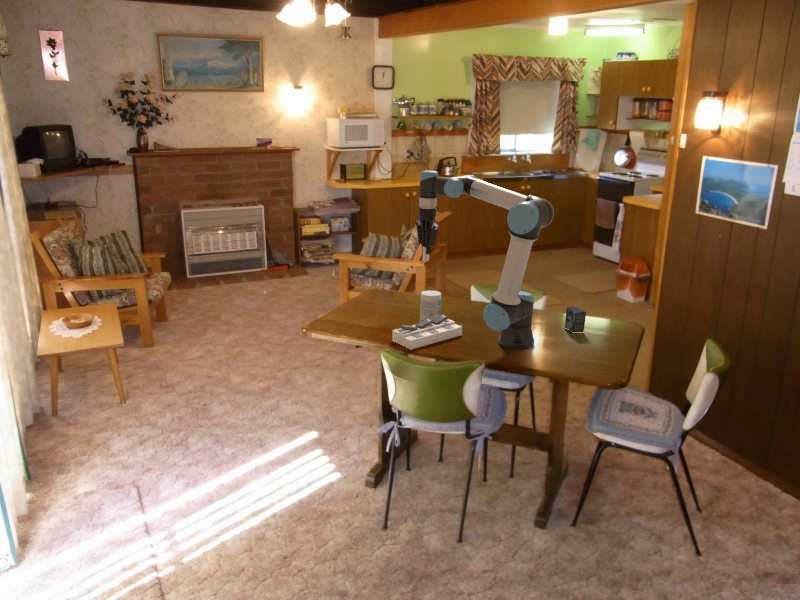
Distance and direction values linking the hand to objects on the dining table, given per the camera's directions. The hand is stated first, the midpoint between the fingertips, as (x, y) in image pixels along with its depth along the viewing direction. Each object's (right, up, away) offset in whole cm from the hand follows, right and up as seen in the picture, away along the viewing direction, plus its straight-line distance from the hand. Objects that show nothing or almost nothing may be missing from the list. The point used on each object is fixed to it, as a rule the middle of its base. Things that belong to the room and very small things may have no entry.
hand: (425, 260), depth 303 cm
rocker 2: (-1, -28, -2) cm, 28 cm away
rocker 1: (-8, -29, -7) cm, 31 cm away
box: (+68, -32, +13) cm, 76 cm away
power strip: (+3, -33, 0) cm, 33 cm away
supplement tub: (+3, -28, +17) cm, 33 cm away
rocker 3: (+6, -26, +4) cm, 27 cm away
